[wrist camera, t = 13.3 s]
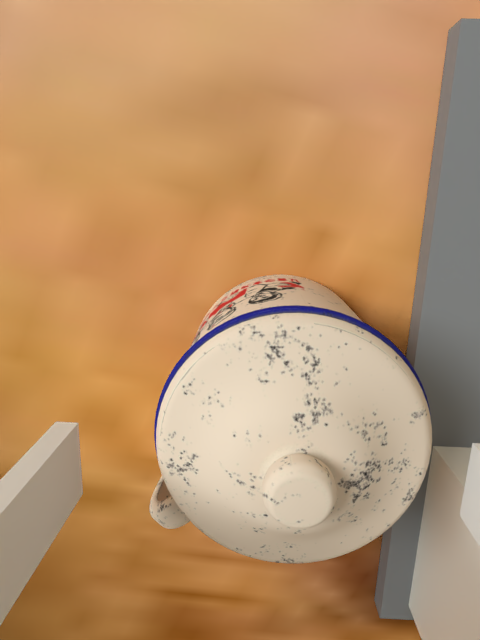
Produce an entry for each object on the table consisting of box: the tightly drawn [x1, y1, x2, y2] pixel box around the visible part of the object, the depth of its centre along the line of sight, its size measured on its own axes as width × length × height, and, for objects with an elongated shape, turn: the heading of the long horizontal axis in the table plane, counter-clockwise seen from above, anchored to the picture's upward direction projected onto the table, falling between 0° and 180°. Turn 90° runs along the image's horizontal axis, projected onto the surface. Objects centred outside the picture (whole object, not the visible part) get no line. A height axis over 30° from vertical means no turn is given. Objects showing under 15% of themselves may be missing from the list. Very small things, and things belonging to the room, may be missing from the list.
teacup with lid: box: [150, 275, 432, 563], centre depth 17 cm, size 12×9×12 cm
